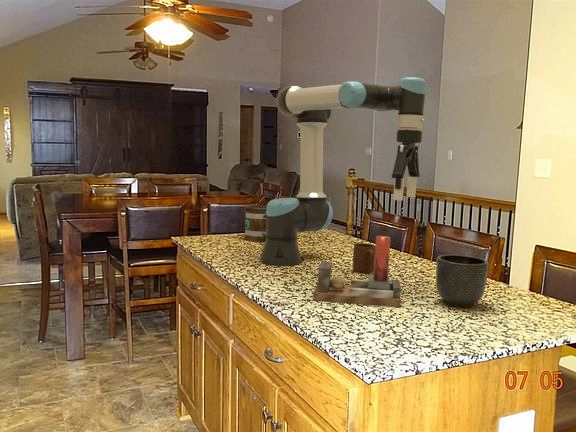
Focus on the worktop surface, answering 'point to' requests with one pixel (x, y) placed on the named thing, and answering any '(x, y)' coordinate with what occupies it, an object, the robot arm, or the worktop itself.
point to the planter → (461, 279)
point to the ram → (380, 265)
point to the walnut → (337, 282)
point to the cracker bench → (354, 291)
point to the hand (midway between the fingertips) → (404, 198)
